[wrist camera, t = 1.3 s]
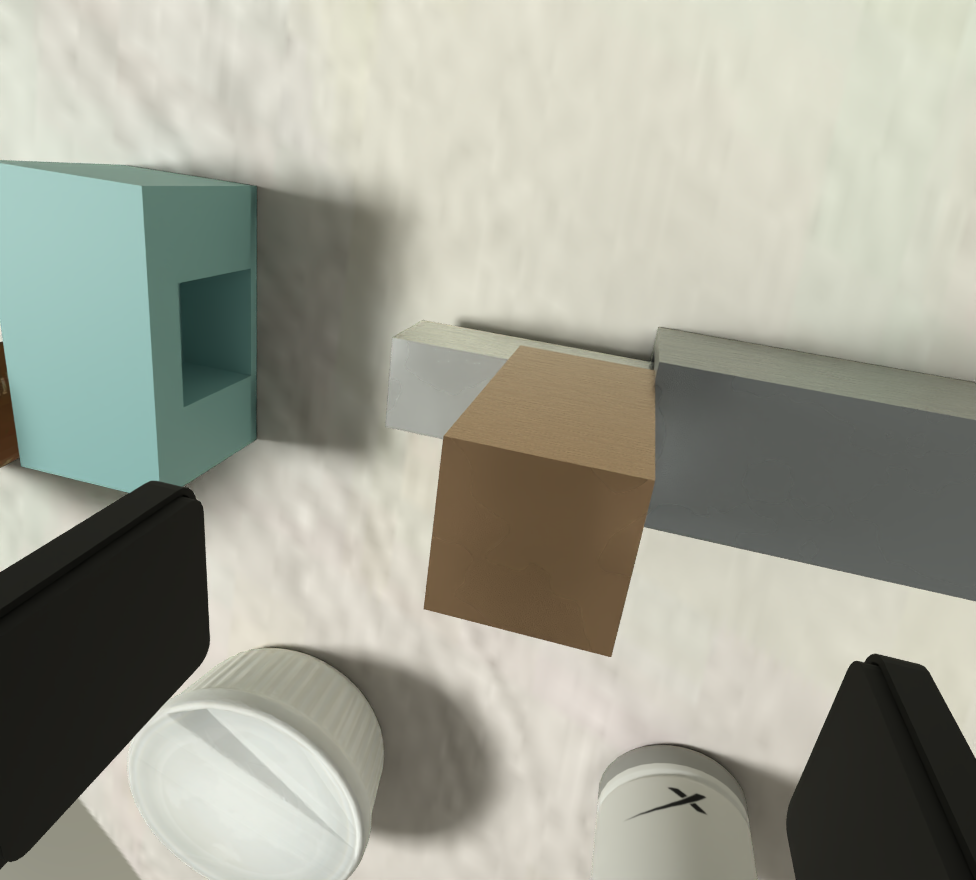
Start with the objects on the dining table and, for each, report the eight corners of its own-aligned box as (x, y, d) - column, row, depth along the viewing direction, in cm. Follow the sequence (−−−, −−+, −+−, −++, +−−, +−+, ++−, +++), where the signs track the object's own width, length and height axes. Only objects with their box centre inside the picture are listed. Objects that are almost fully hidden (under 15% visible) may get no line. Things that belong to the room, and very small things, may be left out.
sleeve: (1047, 394, 21) (1155, 453, 16) (981, 533, 23) (1063, 621, 18) (658, 326, 23) (659, 362, 18) (627, 460, 25) (621, 521, 20)
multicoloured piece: (1020, 413, 20) (1373, 633, 10) (968, 528, 22) (1232, 817, 12) (424, 305, 24) (252, 395, 13) (414, 413, 25) (252, 564, 15)
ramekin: (410, 653, 30) (364, 740, 26) (402, 830, 35) (362, 934, 30) (189, 604, 33) (108, 677, 28) (207, 776, 37) (139, 866, 32)
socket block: (256, 185, 24) (141, 186, 19) (256, 439, 28) (160, 500, 23) (123, 164, 25) (-24, 159, 20) (140, 413, 29) (21, 466, 24)
